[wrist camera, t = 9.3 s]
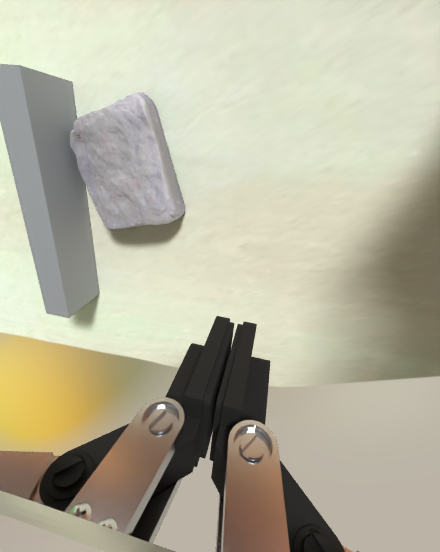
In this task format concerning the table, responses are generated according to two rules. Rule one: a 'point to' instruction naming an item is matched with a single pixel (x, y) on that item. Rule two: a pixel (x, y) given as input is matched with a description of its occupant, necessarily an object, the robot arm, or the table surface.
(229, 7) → the table surface
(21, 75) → the board
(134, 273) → the table surface
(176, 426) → the robot arm
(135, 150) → the stone block
